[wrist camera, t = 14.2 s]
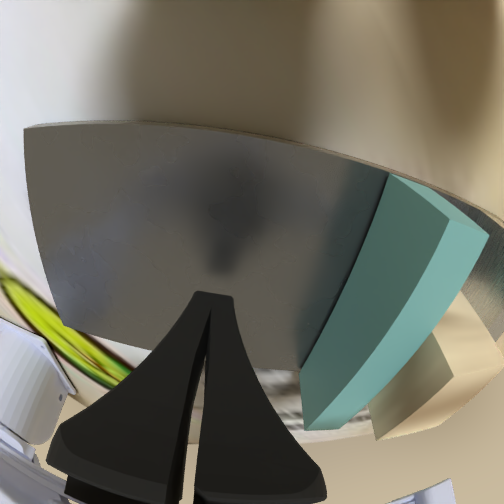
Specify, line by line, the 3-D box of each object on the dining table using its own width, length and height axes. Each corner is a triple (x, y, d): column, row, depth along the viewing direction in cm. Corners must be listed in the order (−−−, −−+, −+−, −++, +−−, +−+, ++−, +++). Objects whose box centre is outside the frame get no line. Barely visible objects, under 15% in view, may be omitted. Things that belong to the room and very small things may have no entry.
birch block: (405, 341, 14) (437, 425, 9) (350, 340, 13) (376, 440, 8) (449, 275, 11) (507, 363, 6) (392, 265, 11) (454, 376, 6)
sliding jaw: (329, 374, 15) (338, 429, 12) (298, 373, 15) (304, 430, 12) (429, 187, 9) (489, 235, 5) (389, 173, 9) (450, 219, 5)
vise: (408, 359, 17) (429, 414, 12) (70, 314, 15) (37, 372, 10) (497, 216, 10) (552, 265, 6) (37, 124, 8) (-44, 156, 4)
